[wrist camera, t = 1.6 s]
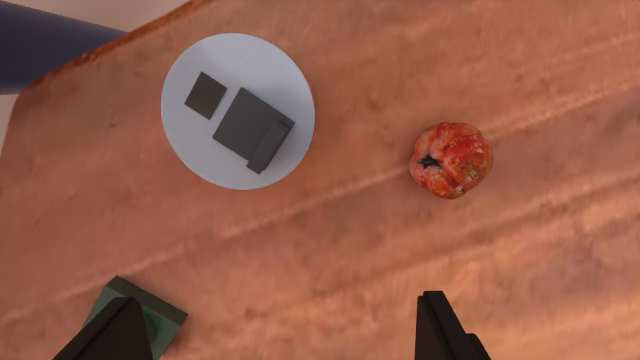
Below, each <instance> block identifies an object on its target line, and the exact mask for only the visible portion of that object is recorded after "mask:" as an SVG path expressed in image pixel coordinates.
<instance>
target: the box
mask: <svg viewBox="0 0 640 360" xmlns="http://www.w3.org/2000/svg"><path fill="white" fill-rule="evenodd" d="M115 297H134V298H135V299H136V301H139V302H140V303H141V307H142V311H143V316H144V320H145V324H146V329H147V333H148V338H149V342H150V346H151V351H152V355H153V360H159V359H160V357H161V356H162V354H163V353H164V351H165V350H166V348H167V347H168V345H169V344H170V342H171V340H172V339H173V337H174V336H175V334H176V333H177V331H178V330H179V328H180V327H181V325H182V324H183V322H184V320H185V319H186V317H187V315H188V314H186V313H184V312H183V311H181V310H179V309H177V308H175V307H173V306H172V305H170V304H168V303H166V302H164V301H162V300H161V299H159V298H157V297H155V296H153V295H151V294H149V293H148V292H146V291H144V290H142V289H140V288H138V287H137V286H135V285H133V284H131V283H129V282H127V281H126V280H124V279H122V278H120V277H118V276H115V277H114V278H113V279H112V280H111V281H110V282H108V283H107V284H106V285H105V286H104V288H103V290H102V292H101V294H100V296H99V297H98V299H97V301H96V303H95V305H94V306H93V308H92V310H91V312H90V314H89V316H88V317H87V319H86V321H85V323H84V325H83V326H82V328H81V330H82V329H83V328H84V327H85V326H86V325H87V324H88V323H89V322H90V321H91V320H92V319H93V318H94V317H95V316H96V315H97V314H98V313H99V312H100V311H101V310H102V309H103V308H104V307H105V306H106V305H107V304H108V303H109V302H110V301H111V300H112V299H113V298H115ZM81 330H80V331H81Z"/></svg>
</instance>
